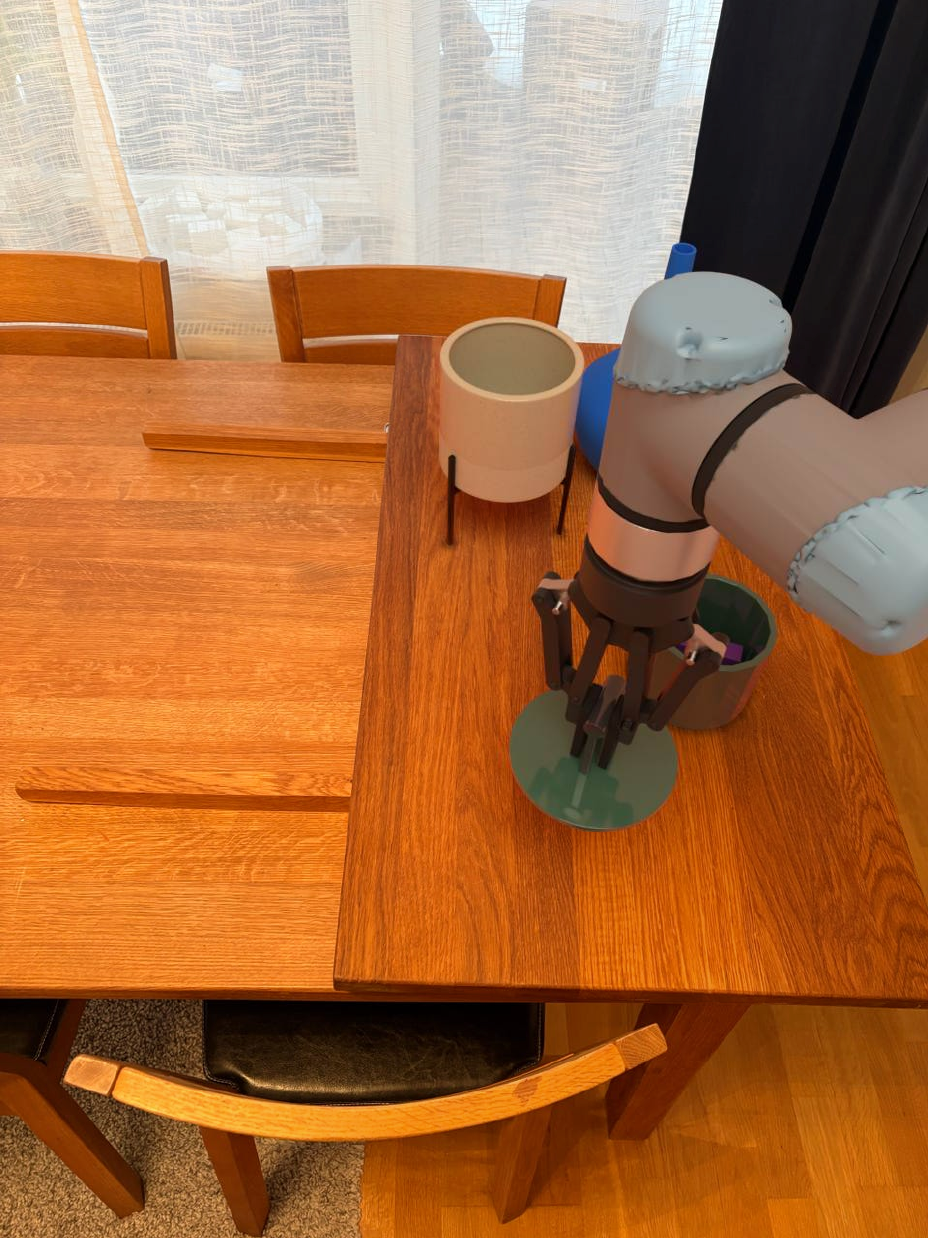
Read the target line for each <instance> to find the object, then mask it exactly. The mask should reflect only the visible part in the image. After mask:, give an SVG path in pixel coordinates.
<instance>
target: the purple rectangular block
mask: <svg viewBox="0 0 928 1238" xmlns="http://www.w3.org/2000/svg"><path fill="white" fill-rule="evenodd" d="M686 646H687V643H686V642H683V643H681V644H678V645H676V646H674V647H675V648H677V649H678V650H679V651H680V652H682V653H683V654H684V651H685V649H686ZM742 652H743V646H741V645H737V644H734V643H730V642H729V644H728V646H727V649H726V652H725V655H724V657H723V660H722V662H721V665H728V666H732V665H736V664H739V663H740V662H741V657H742ZM684 655H685V654H684Z"/></svg>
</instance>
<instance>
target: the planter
mask: <svg viewBox="0 0 928 1238" xmlns="http://www.w3.org/2000/svg"><path fill="white" fill-rule="evenodd" d="M439 351H440V352H439V393H438V394H439V398H438V399H439V403H438V404H439V405H438V406H439V407H438V409H439V412H438V414H439V415H438V417H439V418H438V424H439V425H438V426H439V427H438V433H439V434H438V442H439V443H438V461H439V466H440V468H441V471H442V473H443V474H444V476H445V477H446V479H447V498H446V501H447V503H446V504H447V506H446V507H447V508H446V510H447V511H446V544H447V545H448V546H452V545H453V544H454V543H455V542H454V541H455V540H454V537H455V503H456V499H455V496H456V495H457V494H459V493H462V492H463V493H465V494H468V495H469V496H472V497H474V498H477V499H480V500H484V501H488V502H494V503H505V504H506V503H509V504H510V503H511V504H513V503H522V502H527V501H531V500H535V499H537V498H540V497H542V496H545V495H547V494H549V493H550V492H552V491H553V490H555V489H556V488H557V487H558V486H559V485H561V486H563V490H562V497H561V503H560V509H559V516H558V522H557V529H556V534H558V535H563V533H564V528H565V523H566V516H567V510H568V504H569V497H570V491H571V485H572V479H573V474H574V467H575V461H576V457H577V456H576V455H577V449H578V445H575V444H573V441H574V433H575V422H576V415H577V409H578V403H579V396H580V390H581V384H582V378H583V374H584V372H585V356H584V354H583V351H582V349H581V348H580V346H579V344H578V343H577V342H576V341H575V340H574V339H573V338H572V337H571V336H570V335H569V334H567V333H566V332H564V331H562V330H561V329H559V328H557V327H556V326H553V325H551V324H548V323H546V322H542V321H540V320H535V319H530V318H526V317H525V318H524V317H515V316H500V317H498V316H497V317H488V318H484V319H479V320H476V321H472V322H469V323H468V324H465V325H463V326H460V327H459V328H457V329H456V330H455V331H453V332H452V333H450V334H449V336H448V337H446V339H445V340H444V342H443V344H442V346H441V348H440V350H439Z"/></svg>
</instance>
